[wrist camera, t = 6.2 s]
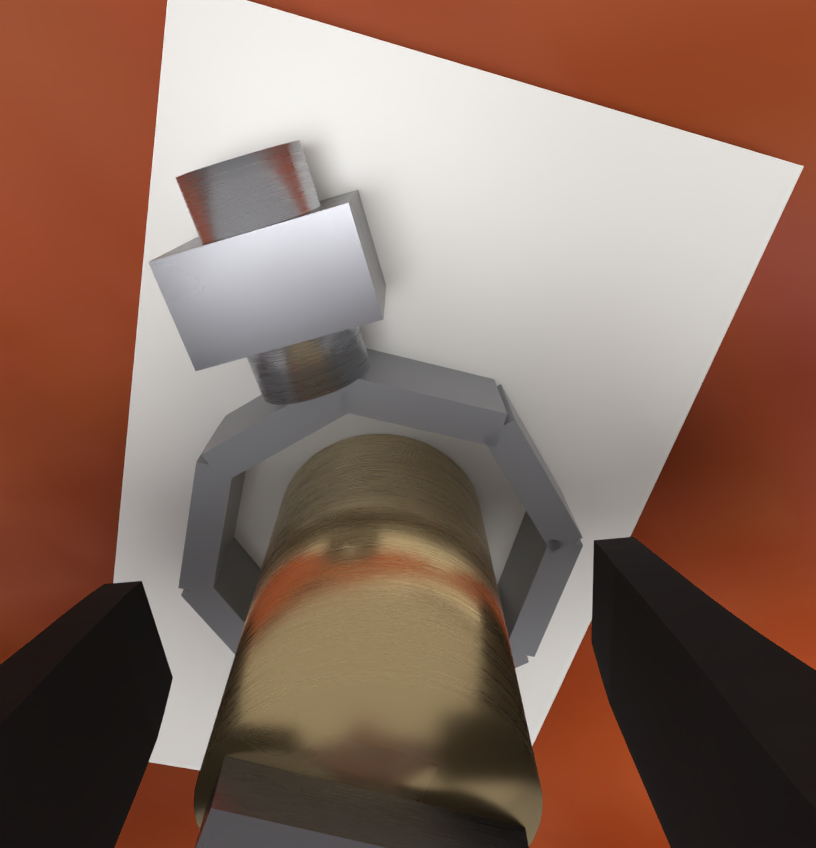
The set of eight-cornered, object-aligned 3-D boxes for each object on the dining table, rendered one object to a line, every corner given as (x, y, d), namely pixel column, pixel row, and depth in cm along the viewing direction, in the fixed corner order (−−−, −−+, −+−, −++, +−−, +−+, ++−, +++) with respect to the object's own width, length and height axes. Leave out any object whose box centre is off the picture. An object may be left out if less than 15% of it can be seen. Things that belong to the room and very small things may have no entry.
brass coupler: (514, 472, 13) (621, 792, 7) (436, 625, 14) (465, 998, 8) (314, 405, 12) (232, 691, 6) (256, 573, 13) (142, 936, 7)
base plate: (492, 783, 18) (507, 884, 15) (114, 719, 16) (66, 818, 14) (771, 163, 11) (869, 171, 9) (190, -9, 10) (126, -52, 8)
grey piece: (400, 335, 11) (401, 378, 9) (250, 376, 12) (219, 426, 10) (340, 129, 10) (326, 129, 8) (172, 181, 10) (118, 193, 8)
